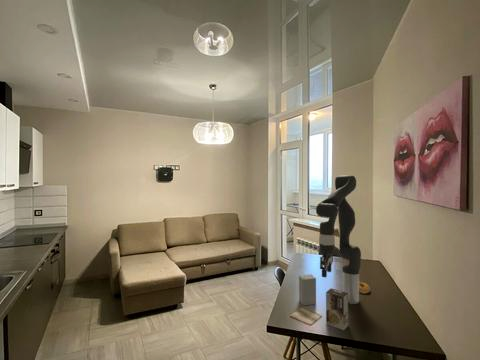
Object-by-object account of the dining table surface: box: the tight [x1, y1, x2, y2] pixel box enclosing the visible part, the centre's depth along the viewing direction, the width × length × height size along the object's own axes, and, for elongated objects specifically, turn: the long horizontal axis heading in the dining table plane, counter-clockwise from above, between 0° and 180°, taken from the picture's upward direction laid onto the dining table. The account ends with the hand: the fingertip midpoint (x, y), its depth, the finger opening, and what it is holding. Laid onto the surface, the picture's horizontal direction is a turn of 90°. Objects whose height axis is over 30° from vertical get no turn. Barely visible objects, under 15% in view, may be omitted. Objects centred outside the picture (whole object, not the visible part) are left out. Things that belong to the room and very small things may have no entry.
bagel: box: [359, 281, 371, 294], centre depth 169 cm, size 10×11×5 cm
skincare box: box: [298, 273, 317, 307], centre depth 151 cm, size 8×7×16 cm
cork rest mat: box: [289, 307, 323, 326], centre depth 136 cm, size 12×12×1 cm
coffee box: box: [325, 288, 349, 331], centre depth 129 cm, size 9×6×16 cm
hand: (326, 274), depth 132 cm, fingers open, 8 cm apart
